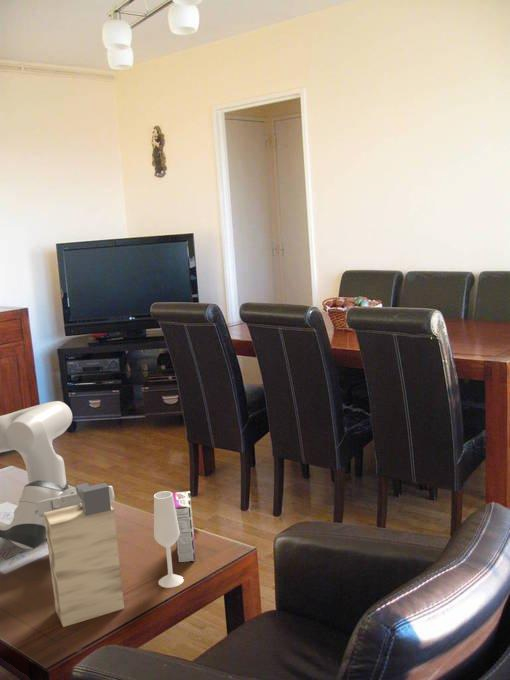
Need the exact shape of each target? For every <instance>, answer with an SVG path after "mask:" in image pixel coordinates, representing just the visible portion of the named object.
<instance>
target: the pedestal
mask: <svg viewBox="0 0 510 680" xmlns="http://www.w3.org/2000/svg"><path fill="white" fill-rule="evenodd" d="M110 506H111V510H110V511H106V512H102V513H97V514H93V515H89V516H86V515H85V514H84V513H83V507H82V502H81V503H79V505H75V506H71V507H67V508H62V509H58V510H54V511H50V512H45V513H44V518H45V526H46V534H47V539H46V540H47V541H46V542H47V549H48V557H49V565H50V574H51V582H52V583H51V584H52V591H53V597H54V606H55V613H56V614H57V617H58V619H59V621H60V623H61V626H62V628H65V627H67V626H71V625H75V624H78V623H81V622H85V621H87V620H91V619H94V618H95V619H96V618H98V617H101V616H104V615H108V614H111V613H113V612H117V611H121V610H124V609H125V604H124V603H125V602H124V594H123V584H122V573H121V564H120V553H119V544H118V535H117V525H116V516H115V515H116V514H115V508H114V507H112V505H111V504H110Z"/></svg>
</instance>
